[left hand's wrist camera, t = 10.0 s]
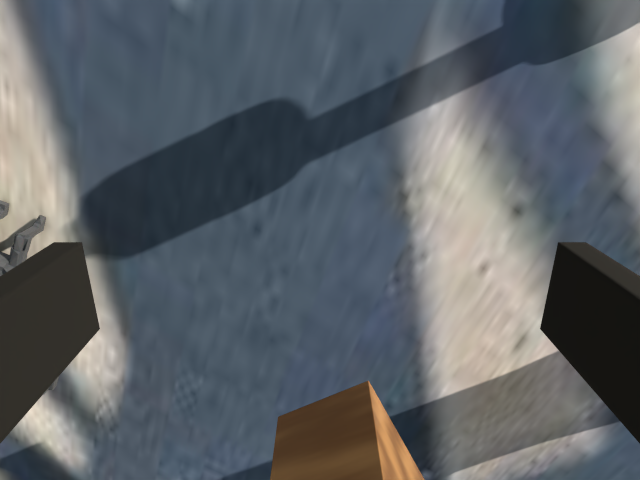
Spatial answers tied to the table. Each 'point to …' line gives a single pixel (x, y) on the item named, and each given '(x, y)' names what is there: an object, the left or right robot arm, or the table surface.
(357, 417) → the box
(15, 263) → the toy
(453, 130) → the table surface
